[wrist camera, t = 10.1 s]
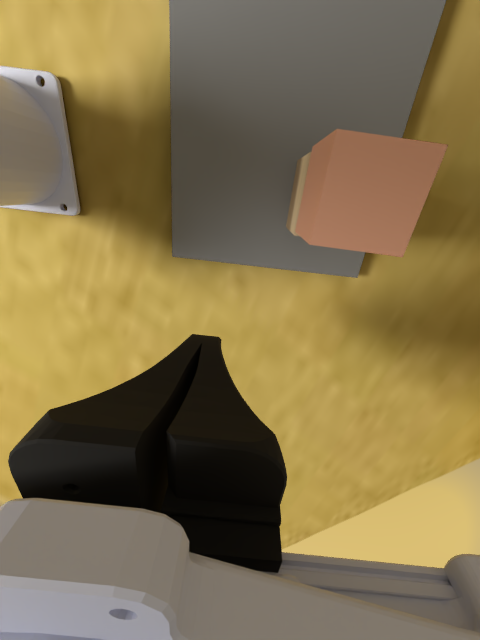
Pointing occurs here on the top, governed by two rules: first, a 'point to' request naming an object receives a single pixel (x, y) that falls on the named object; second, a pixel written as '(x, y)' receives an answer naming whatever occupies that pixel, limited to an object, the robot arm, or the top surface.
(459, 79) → the top surface
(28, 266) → the top surface
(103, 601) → the robot arm
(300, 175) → the maple block
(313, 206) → the terracotta block
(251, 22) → the plate
